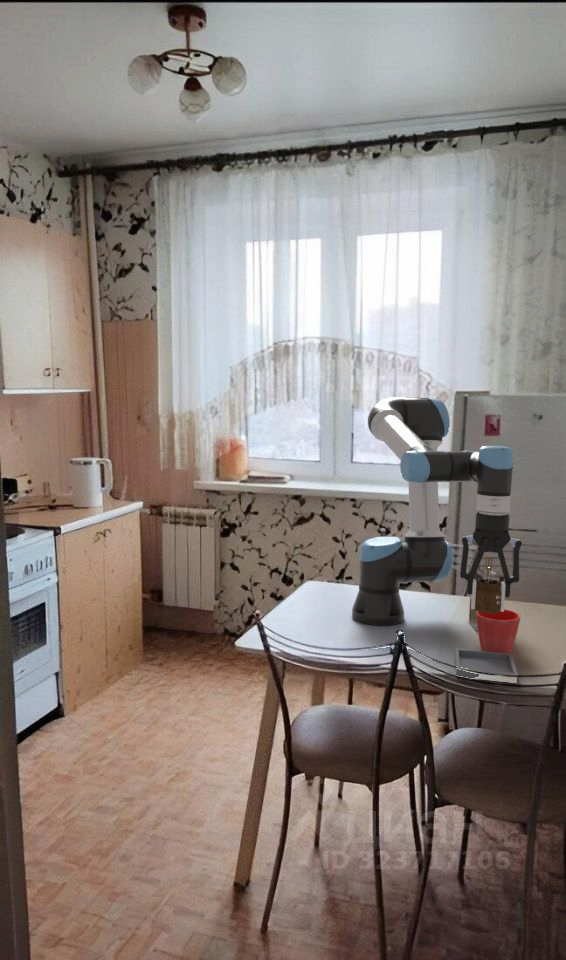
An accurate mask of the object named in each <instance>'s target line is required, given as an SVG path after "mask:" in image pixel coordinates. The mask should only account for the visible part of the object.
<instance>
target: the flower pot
mask: <svg viewBox="0 0 566 960" xmlns="http://www.w3.org/2000/svg"><path fill="white" fill-rule="evenodd" d="M476 618H477V626H478V631H477V632H478V639H479V645H480V649H481V651H488V652H499V653H510V654H512V652H513V648H514V646H515V642H516V638H517V634H518V630H519V626H520V621H521V615H520V614H519V613H518V612H516V611H513V610H510V609H505V608H504V612H501V611H499V612H498V613H493V614H489V613H482V612H479V611H477V612H476Z"/></svg>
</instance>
